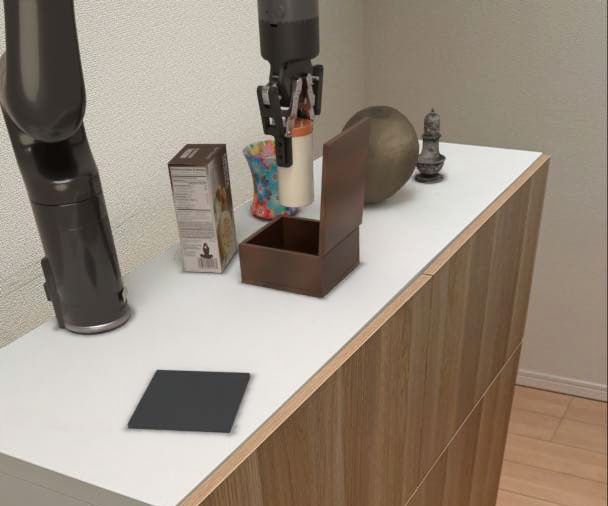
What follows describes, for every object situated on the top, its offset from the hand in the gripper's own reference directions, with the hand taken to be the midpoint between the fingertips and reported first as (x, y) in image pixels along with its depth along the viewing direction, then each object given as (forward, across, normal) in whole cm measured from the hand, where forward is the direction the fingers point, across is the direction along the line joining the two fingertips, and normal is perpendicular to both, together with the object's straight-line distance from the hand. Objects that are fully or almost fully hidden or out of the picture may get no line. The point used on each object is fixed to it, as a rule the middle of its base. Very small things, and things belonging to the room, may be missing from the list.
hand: (294, 159), depth 106 cm
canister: (+6, 0, 0) cm, 6 cm away
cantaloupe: (+16, -32, -2) cm, 35 cm away
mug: (+16, -20, -15) cm, 30 cm away
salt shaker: (+16, -46, +3) cm, 49 cm away
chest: (+16, 0, 0) cm, 16 cm away
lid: (+3, 0, +7) cm, 8 cm away
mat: (+17, +36, +5) cm, 40 cm away
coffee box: (+17, +1, -15) cm, 23 cm away
